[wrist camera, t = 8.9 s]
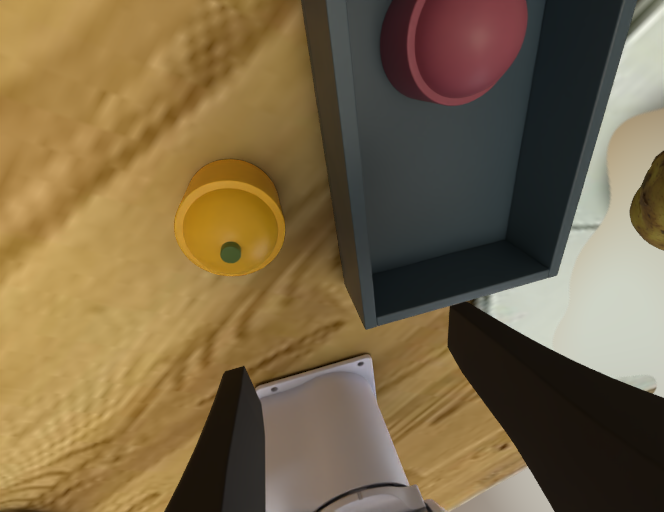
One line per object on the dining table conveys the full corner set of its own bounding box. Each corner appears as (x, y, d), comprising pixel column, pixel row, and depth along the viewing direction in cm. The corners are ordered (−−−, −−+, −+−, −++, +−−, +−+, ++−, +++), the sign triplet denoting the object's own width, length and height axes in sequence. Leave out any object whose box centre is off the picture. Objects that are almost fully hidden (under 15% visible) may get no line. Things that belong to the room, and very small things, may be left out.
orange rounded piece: (205, 250, 19) (191, 315, 14) (171, 169, 16) (140, 214, 11) (286, 231, 19) (301, 287, 14) (266, 150, 17) (276, 185, 12)
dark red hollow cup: (382, 107, 16) (430, 123, 12) (375, -20, 14) (434, -58, 9) (472, 90, 17) (548, 98, 13) (483, -36, 14) (583, -78, 10)
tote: (344, 283, 22) (365, 330, 18) (291, -61, 13) (311, -115, 9) (506, 241, 24) (557, 275, 20) (565, -96, 14) (683, -154, 10)
